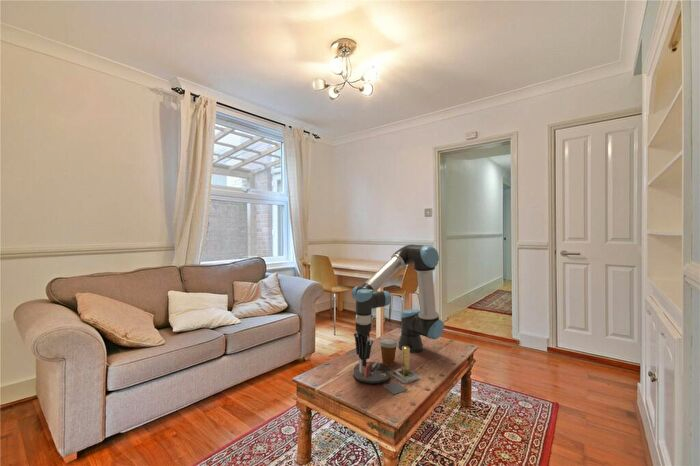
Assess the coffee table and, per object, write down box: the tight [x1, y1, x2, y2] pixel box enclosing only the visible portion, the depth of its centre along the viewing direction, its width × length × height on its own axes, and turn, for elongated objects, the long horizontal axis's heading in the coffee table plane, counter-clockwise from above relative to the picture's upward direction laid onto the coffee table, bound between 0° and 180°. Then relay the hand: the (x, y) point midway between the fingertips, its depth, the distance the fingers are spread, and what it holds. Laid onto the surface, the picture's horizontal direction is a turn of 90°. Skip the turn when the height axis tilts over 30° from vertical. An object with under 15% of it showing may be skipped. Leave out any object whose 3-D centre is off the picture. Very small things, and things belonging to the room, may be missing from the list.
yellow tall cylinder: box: [401, 346, 411, 376], centre depth 147 cm, size 4×4×15 cm
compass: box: [353, 360, 391, 384], centre depth 148 cm, size 18×18×7 cm
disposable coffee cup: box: [379, 337, 398, 366], centre depth 163 cm, size 10×10×12 cm
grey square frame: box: [392, 367, 420, 385], centre depth 148 cm, size 9×9×2 cm
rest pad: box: [382, 381, 408, 396], centre depth 138 cm, size 8×8×1 cm
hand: (362, 371), depth 143 cm, fingers closed
